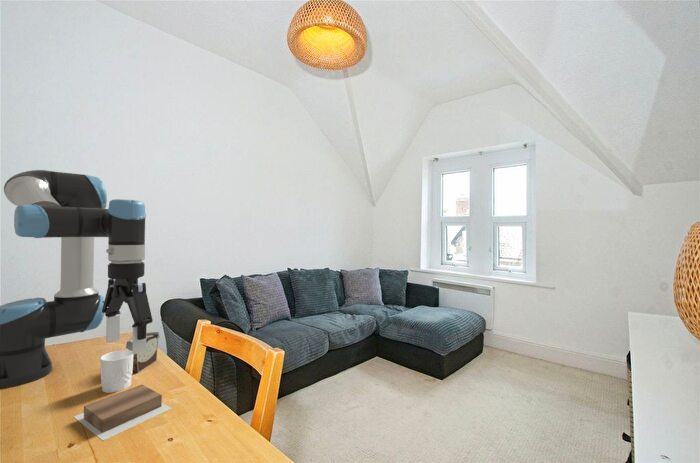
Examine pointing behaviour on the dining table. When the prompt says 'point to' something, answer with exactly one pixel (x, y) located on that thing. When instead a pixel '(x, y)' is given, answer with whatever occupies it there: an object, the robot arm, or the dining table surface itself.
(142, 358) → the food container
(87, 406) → the walnut board
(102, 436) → the rubber mat
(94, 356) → the dining table surface
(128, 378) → the white cup
